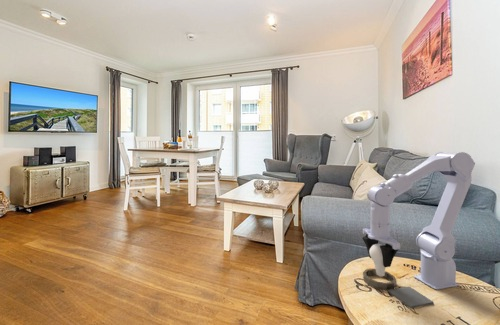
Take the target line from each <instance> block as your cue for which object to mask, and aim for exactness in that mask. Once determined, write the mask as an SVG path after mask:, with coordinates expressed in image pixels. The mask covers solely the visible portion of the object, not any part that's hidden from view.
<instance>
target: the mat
mask: <svg viewBox="0 0 500 325" xmlns="http://www.w3.org/2000/svg"><path fill="white" fill-rule="evenodd" d="M387 292H388V293H389V294H391V295H392V296H393V297H394V298H396V299H397V300H399V301H400V302H401V303H402V304H405V306H406V307H408V308H410V309H414V308H419V307H425V306H430V305H434V301H433V300H432V299H430V298H428V297H426V296H425V295H423V294H421V293H420V292H419V291H417V290H416V289H414V288H412V286H404V287H399V288H398V287H397V288H394V289H391V290H387Z"/></svg>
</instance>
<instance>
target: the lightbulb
mask: <svg viewBox="0 0 500 325" xmlns="http://www.w3.org/2000/svg"><path fill="white" fill-rule="evenodd" d="M382 245H383V244H381V243H378V244H374V245H372V246H371V248H370V250H369V253H370V256H371V258H370V259H371V260H372V261H373V264H374V269H376V274H377V275H378V276H377V277H380V278H383V277H382V276H384V275H385V271H386V267H384V265H383V256H382V251H381V249H380V246H382Z"/></svg>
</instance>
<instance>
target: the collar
mask: <svg viewBox="0 0 500 325" xmlns="http://www.w3.org/2000/svg"><path fill="white" fill-rule="evenodd" d="M369 276H370V277H369ZM371 276H377V277H379V276H378V275H377V274H376V268H366V269H365V270H364V271H362V279H363V281H364V282H365V283H366V284H367V285H368V286H370V287H372V288H375V289H377V290H382V291H388V290H391V289H396V287H397V278H396V277H395V275H393V274H392V273H390V272H388V271H386V270H385V275H384V276H382V277H381V278H383V279H386V280H388V281H389V282H381V281H378V280H375V279H372V278H371Z"/></svg>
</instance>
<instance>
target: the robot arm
mask: <svg viewBox="0 0 500 325" xmlns="http://www.w3.org/2000/svg"><path fill="white" fill-rule="evenodd" d="M475 164H476V162H475V161H474V159H473V158H472V156H471V155H470V154H469V153H468V152H464V151H461V152H460V151H459V152H443V151H439V152H436V153H434V154H433V155H430V156H429V157H428V158H427V159H426V160H425V161H423V162H422V163H420V164H418V165H416V167H414V168H412V169H411V170H410V171H408V172H407V173H405V174H403V173H398V174H396V173H394V174H393V175H392V177H391V178H390V179H388V180H386V181H384V182H380V184H379V185H377V186H376V185H374V186H372V187H371V188H370V189H369V190H368V193H366V196H367V199H368V200H369V201H370V202H369V203H370V213H369V215H370V219H369V220H370V221H369V222H370V225H369V226H370V228H368V227H367V228H366V227H365V228H362V235H364V236H363V237H362V240H363V242H364V245H365V246H366V250H367V252H368V257H369V259H372V258H371V256H370V253H369V250H370V248H371V246H372V245H374V244H379V242H380V243H383V244H382V246H380V249H381V251H382V256H383V265H384V267H385V268H391V266H392V263H393V261H394V260H393V259H394V258H395V255H397V253H398V251H399V250H400V249H401V243H400V242H399V241H398V240H396V239H394V238H393V237H392V236H391V235H390V232H391V231H390V230H391V226H390V225H391V221H390V220H391V205H392V204H393V203H394V201H395V198H397V197H398V196H400V195H402V194H403V193H406V192H407V191H409V190H410V189H412V187H413V183H416V182H417V181H419V180H421V179H422V178H425V177H427V176H429V175H430V174H433V173H434V172H438V173H439V174H440V175H442V177H444V179H445V180H446V186H445V187H444V190H443V193H442V196H441V198H440V200H439V202H438V206H437V209H436V210H435V213H434V216H433V218H432V221H431V222H430V224H429V225H427V226H424V227H423V228H422V231H420V233H419V234H418V235H417V236H416V238H415V244H416V245H417V246H418V248H419V252H420V274H415V275H413V278H414V279H417V280H418V281H420V282H421V283H423V284H426V285H427V286H428V287H430V288H432V289H434V290H437V291H438V290H442V289H448V288H454V287H458V286H459V284H458V283H456V282H457V281H456V279H457V276H456V273H457V265H456V262H455V260H454V259H453V257H454V255H455V253H456V248H455V247H456V243H457V240H456V238H455V237H454V235H453V234H452V231H453V228H454V226H455V223H456V221H457V219H458V215H459V213H460V211H461V209H462V206H463V203H464V201H465V199H466V196H467V193H468V191H469V189H470V186H471V185H472V172H473V170H474V167H475Z"/></svg>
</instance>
